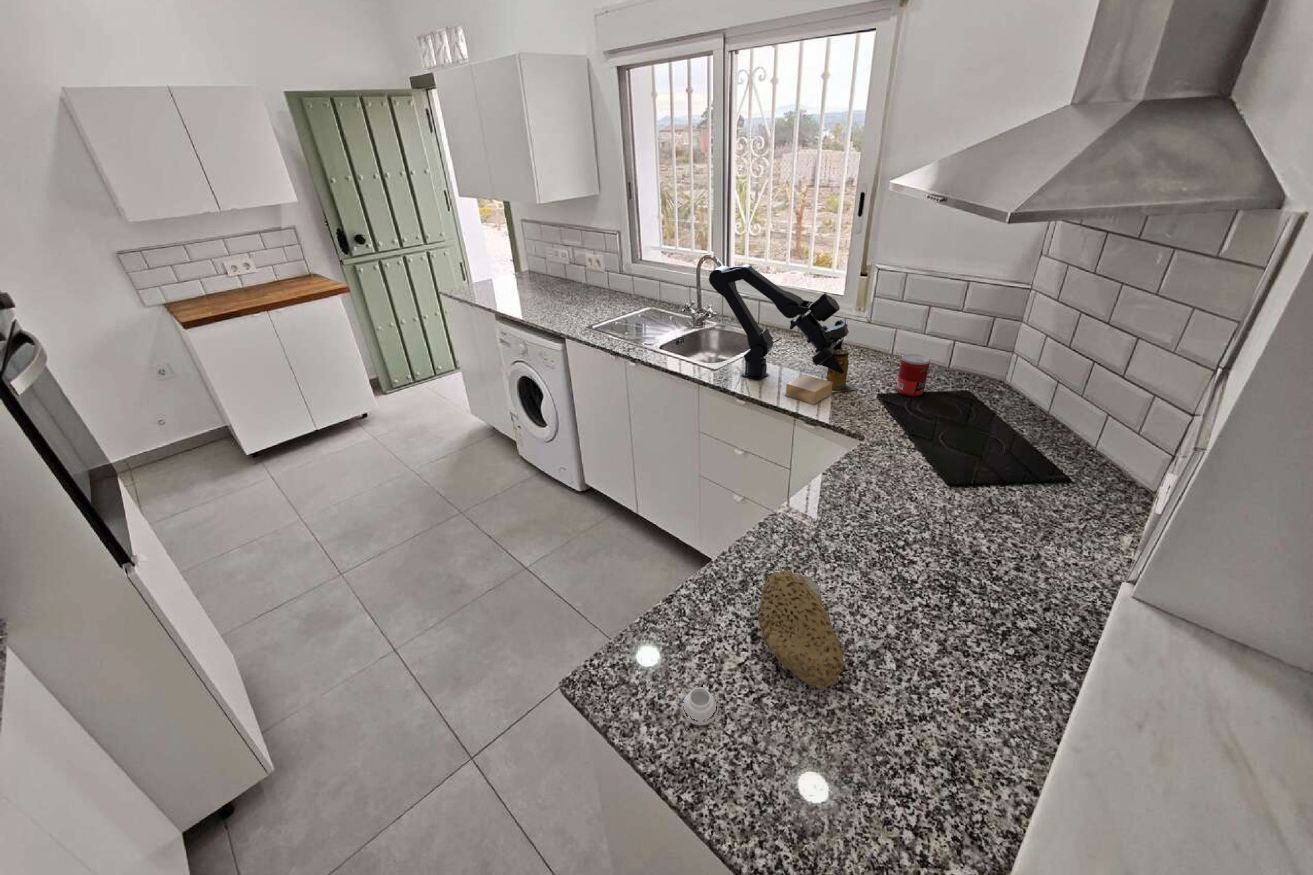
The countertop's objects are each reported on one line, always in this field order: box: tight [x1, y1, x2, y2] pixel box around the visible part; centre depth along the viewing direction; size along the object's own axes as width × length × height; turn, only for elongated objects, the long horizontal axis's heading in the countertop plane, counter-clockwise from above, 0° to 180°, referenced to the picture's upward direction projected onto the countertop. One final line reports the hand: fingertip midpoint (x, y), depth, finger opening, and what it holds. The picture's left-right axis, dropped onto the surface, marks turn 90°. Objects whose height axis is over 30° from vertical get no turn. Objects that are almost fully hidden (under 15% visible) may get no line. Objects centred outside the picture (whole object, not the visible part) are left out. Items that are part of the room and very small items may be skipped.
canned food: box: [895, 353, 931, 397], centre depth 164 cm, size 8×8×11 cm
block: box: [785, 373, 833, 405], centre depth 167 cm, size 10×10×4 cm
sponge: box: [757, 570, 845, 689], centre depth 84 cm, size 13×8×20 cm
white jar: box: [681, 686, 719, 727], centre depth 75 cm, size 5×3×5 cm
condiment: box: [825, 349, 857, 393], centre depth 169 cm, size 7×8×12 cm
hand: (845, 368), depth 168 cm, fingers open, 7 cm apart
